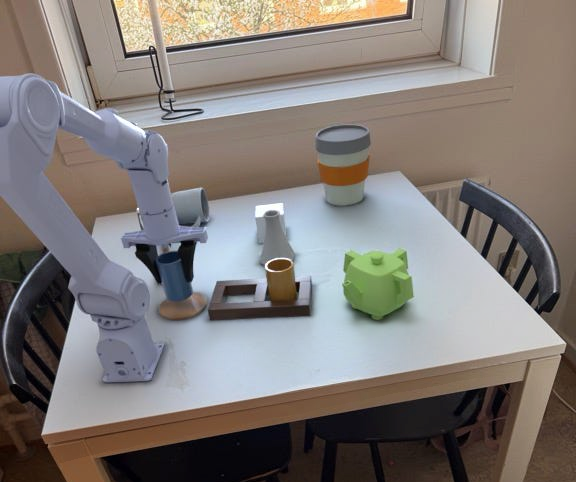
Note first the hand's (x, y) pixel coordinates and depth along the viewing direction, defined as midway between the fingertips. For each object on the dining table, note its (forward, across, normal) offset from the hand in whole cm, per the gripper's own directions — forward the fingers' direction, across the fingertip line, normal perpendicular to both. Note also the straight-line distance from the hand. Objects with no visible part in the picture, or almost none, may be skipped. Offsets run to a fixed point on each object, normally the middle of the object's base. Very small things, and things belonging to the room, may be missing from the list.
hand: (176, 280), depth 99 cm
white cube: (+6, -14, -27) cm, 31 cm away
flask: (+6, -16, -16) cm, 24 cm away
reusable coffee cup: (+6, -30, -45) cm, 55 cm away
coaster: (+6, 0, 0) cm, 6 cm away
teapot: (+6, -36, +3) cm, 36 cm away
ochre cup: (+6, -19, 0) cm, 20 cm away
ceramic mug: (+6, +6, -36) cm, 37 cm away
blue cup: (+3, 0, 0) cm, 3 cm away
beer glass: (+6, +4, -11) cm, 13 cm away
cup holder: (+6, -15, 0) cm, 16 cm away
